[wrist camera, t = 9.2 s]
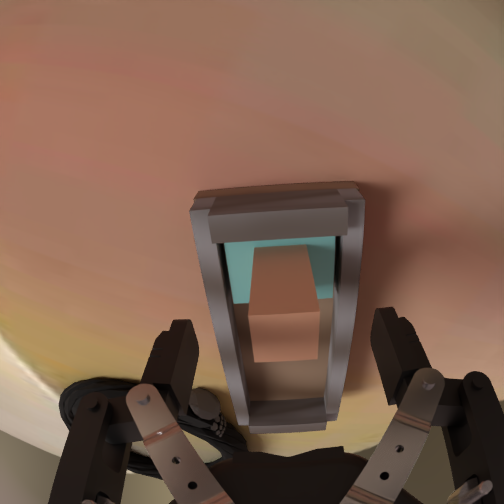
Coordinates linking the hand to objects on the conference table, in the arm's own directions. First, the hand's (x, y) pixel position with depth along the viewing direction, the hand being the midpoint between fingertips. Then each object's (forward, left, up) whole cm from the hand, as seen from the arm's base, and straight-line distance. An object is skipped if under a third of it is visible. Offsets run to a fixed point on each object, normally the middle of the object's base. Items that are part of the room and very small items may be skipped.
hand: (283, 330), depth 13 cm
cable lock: (+28, -18, -10) cm, 35 cm away
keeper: (+1, 0, -8) cm, 8 cm away
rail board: (+7, 0, -9) cm, 12 cm away
